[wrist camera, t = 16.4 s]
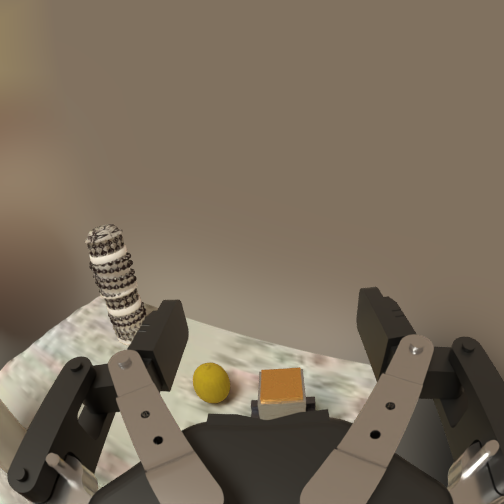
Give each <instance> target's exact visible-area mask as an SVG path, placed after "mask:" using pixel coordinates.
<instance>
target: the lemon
mask: <svg viewBox="0 0 504 504" xmlns="http://www.w3.org/2000/svg"><path fill="white" fill-rule="evenodd" d="M193 386H194V389H195V391H196V393H197V395H198V396H199V397H200V398H201V399H202V400H204V401H205V402H208V403H218V402H221V401H223V400H224V399H225V398H226V397H227V395H228V394H229V391H230V380H229V378H228V375H227V373H226V372H225V370H224V369H223V368H222V367H221V366H219V365H218V364H215V363H205V364H202V365H200V366H199V367H198V368H197V369H196V370H195V372H194V375H193Z"/></svg>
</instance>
